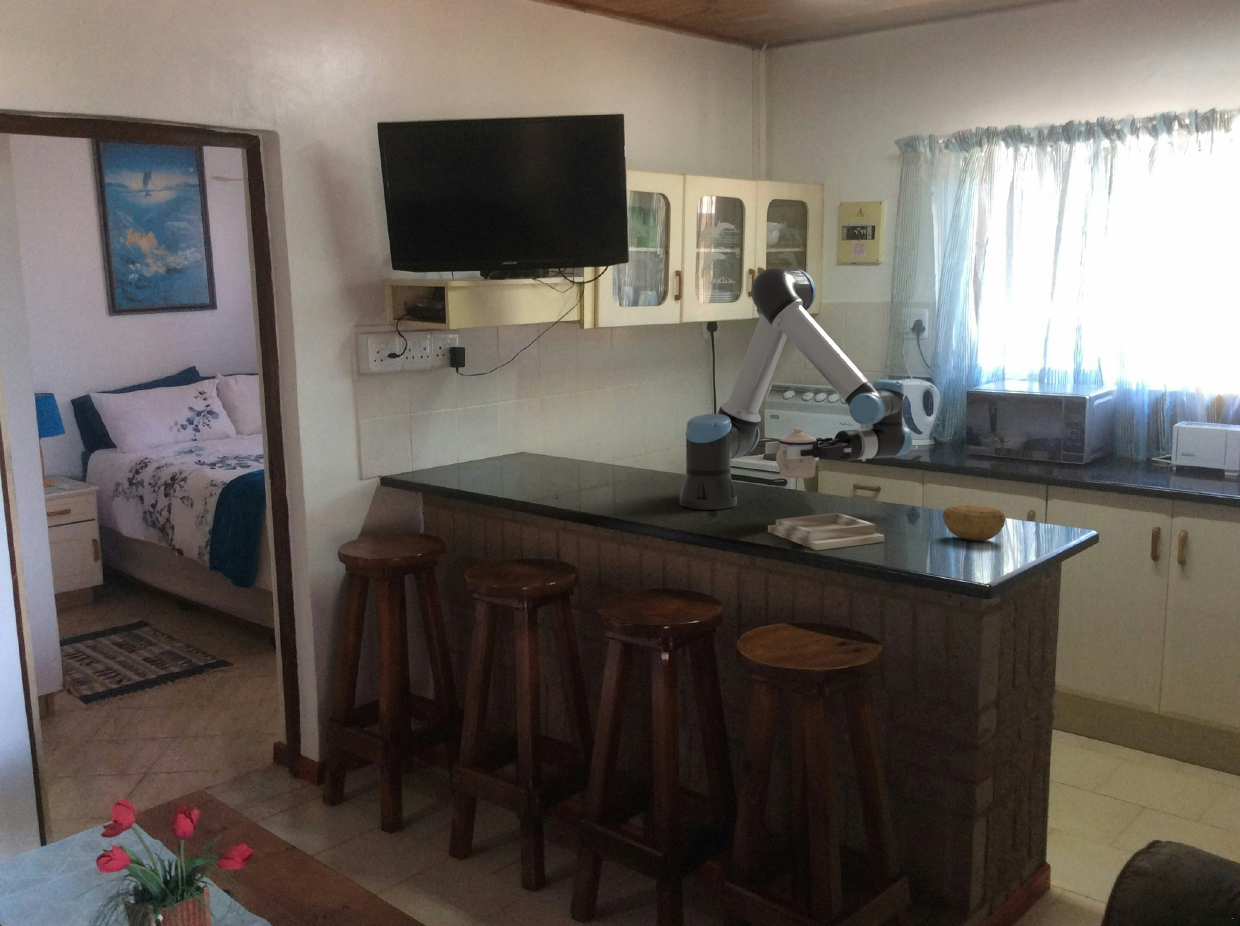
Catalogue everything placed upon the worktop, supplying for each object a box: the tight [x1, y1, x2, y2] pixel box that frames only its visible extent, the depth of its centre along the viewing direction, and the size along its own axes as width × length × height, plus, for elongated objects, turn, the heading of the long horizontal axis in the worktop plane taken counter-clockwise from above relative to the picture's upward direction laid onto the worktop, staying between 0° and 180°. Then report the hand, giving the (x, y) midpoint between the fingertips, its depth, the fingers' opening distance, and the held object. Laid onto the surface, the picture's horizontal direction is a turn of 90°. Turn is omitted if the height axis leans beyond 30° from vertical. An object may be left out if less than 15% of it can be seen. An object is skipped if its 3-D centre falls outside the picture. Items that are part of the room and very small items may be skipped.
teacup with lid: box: [775, 427, 817, 479], centre depth 261 cm, size 12×9×12 cm
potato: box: [942, 504, 1006, 542], centre depth 243 cm, size 10×14×8 cm
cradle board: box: [767, 512, 885, 551], centre depth 248 cm, size 20×18×4 cm
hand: (776, 450), depth 260 cm, fingers closed on teacup with lid, 9 cm apart
